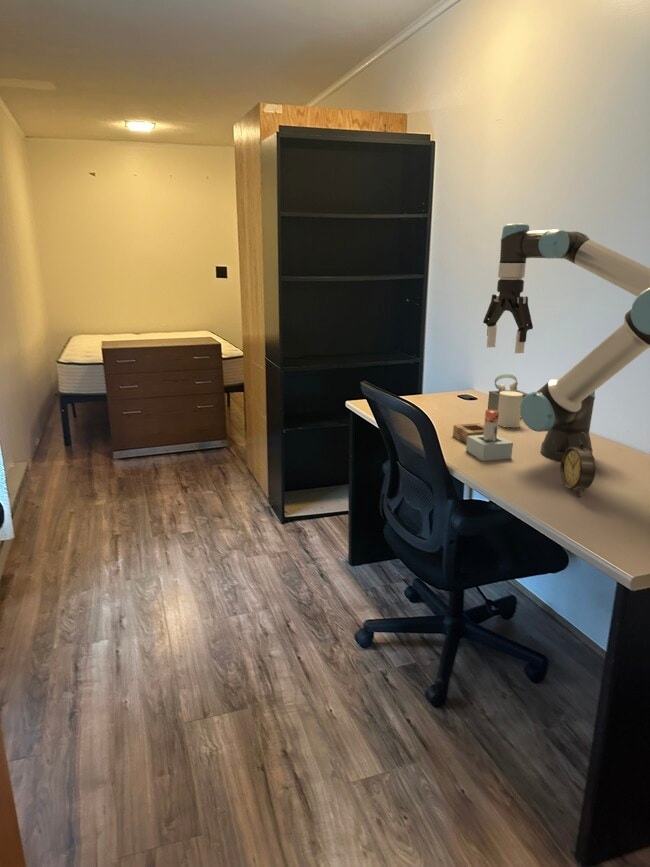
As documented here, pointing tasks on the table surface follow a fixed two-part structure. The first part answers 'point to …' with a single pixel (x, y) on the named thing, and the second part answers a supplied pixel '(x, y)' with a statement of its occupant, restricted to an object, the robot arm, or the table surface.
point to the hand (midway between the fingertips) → (504, 350)
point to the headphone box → (497, 399)
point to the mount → (467, 430)
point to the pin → (490, 426)
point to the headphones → (502, 387)
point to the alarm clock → (578, 467)
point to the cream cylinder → (509, 408)
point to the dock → (489, 448)
